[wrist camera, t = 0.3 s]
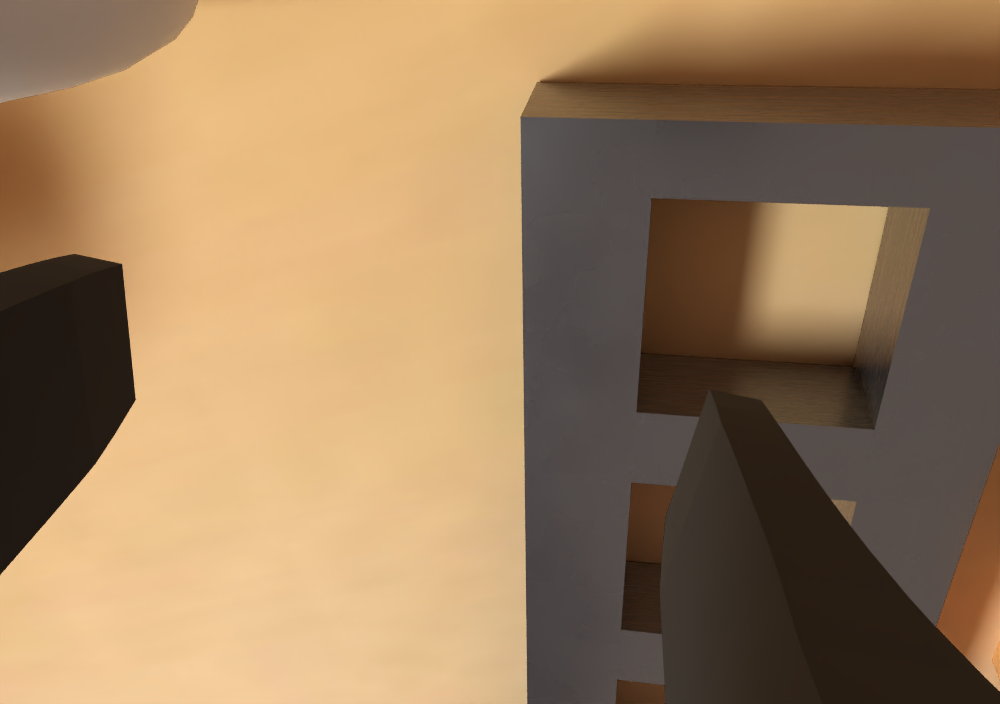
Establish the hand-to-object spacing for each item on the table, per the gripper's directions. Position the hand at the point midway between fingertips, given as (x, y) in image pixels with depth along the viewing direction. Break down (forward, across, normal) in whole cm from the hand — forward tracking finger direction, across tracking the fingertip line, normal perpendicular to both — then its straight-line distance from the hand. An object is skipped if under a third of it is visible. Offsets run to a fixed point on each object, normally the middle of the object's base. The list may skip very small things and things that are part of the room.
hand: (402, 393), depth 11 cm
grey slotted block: (+10, -7, +9) cm, 15 cm away
